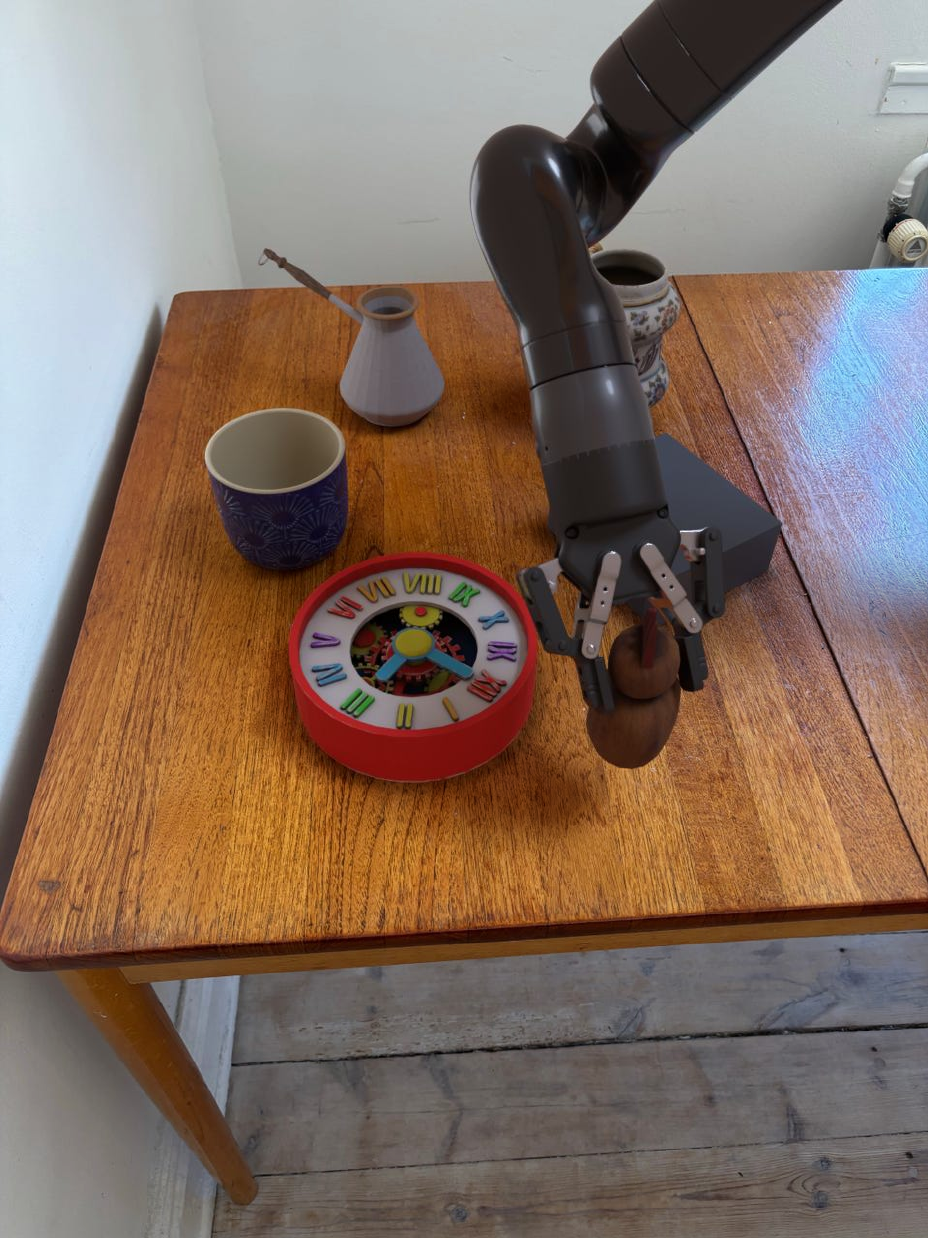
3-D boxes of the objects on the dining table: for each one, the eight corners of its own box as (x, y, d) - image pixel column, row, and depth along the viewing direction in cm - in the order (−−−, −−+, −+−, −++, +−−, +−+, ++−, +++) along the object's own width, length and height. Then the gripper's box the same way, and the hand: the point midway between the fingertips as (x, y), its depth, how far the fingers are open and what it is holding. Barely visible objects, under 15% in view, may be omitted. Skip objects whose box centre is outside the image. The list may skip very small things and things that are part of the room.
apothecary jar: (599, 376, 117) (617, 225, 104) (683, 420, 111) (714, 266, 98) (529, 419, 111) (538, 265, 98) (613, 468, 105) (636, 311, 92)
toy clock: (391, 521, 90) (584, 615, 83) (394, 568, 95) (577, 661, 87) (234, 659, 79) (441, 782, 71) (246, 705, 84) (442, 826, 76)
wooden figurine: (646, 796, 70) (681, 654, 59) (570, 762, 72) (590, 619, 61) (681, 727, 74) (720, 582, 63) (608, 697, 76) (634, 551, 65)
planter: (312, 600, 92) (298, 508, 84) (199, 560, 95) (175, 468, 87) (377, 518, 100) (370, 427, 92) (270, 484, 103) (254, 394, 95)
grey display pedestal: (657, 479, 104) (666, 431, 100) (768, 570, 95) (783, 522, 90) (547, 528, 99) (551, 480, 94) (653, 629, 90) (663, 581, 85)
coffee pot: (463, 394, 114) (463, 270, 103) (412, 449, 107) (407, 322, 96) (306, 345, 121) (291, 224, 110) (248, 394, 114) (226, 269, 103)
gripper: (506, 461, 60) (565, 735, 61) (723, 418, 63) (776, 679, 64) (477, 477, 67) (531, 721, 68) (673, 437, 70) (721, 672, 71)
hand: (649, 700), depth 66 cm, fingers closed on wooden figurine, 5 cm apart
